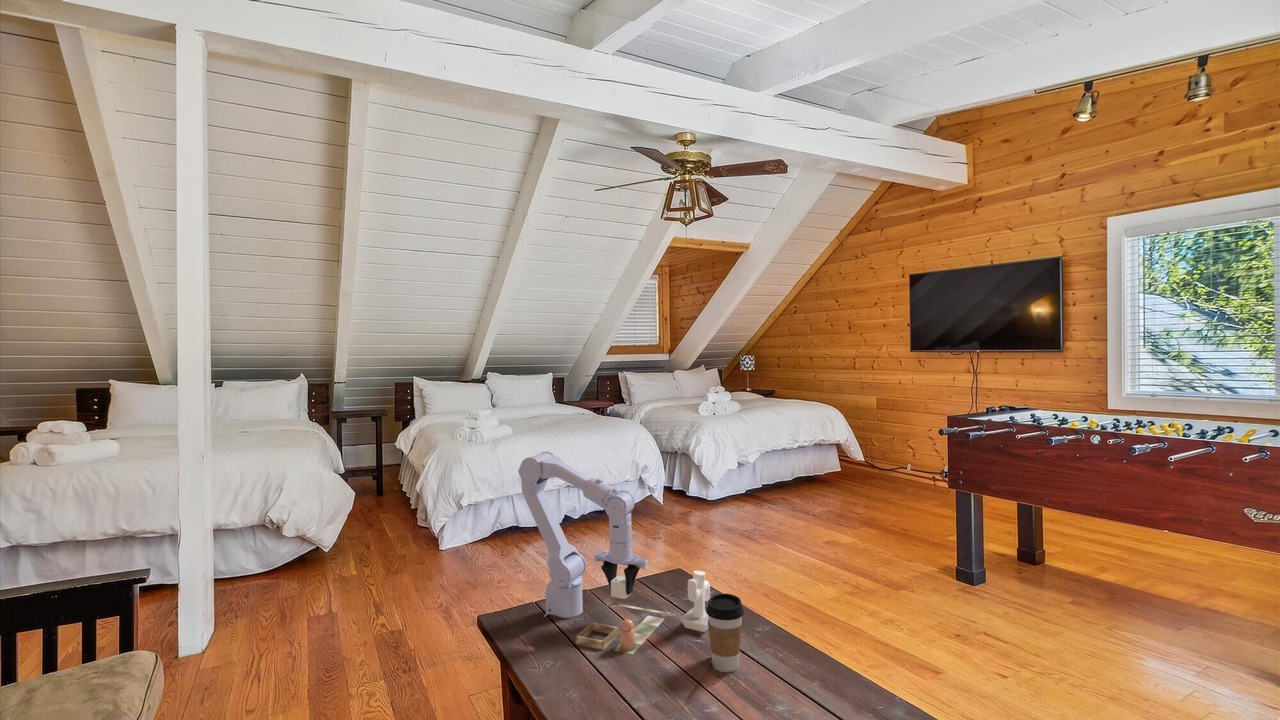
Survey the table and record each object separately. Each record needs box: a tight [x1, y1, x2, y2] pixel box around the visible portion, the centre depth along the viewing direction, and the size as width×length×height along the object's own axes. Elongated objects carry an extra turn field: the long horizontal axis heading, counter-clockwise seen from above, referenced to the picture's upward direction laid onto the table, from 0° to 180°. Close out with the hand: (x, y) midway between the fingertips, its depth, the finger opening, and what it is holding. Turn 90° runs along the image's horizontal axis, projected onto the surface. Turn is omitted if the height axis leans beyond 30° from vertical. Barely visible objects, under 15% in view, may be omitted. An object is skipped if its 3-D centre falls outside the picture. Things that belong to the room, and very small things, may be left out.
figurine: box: [680, 570, 711, 633], centre depth 165 cm, size 7×9×15 cm
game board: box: [575, 603, 672, 655], centre depth 164 cm, size 15×26×3 cm, turn 156°
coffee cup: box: [705, 593, 745, 673], centre depth 148 cm, size 8×8×15 cm
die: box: [610, 575, 630, 600], centre depth 169 cm, size 4×4×4 cm
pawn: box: [619, 618, 636, 651], centre depth 154 cm, size 4×4×7 cm
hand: (621, 591), depth 169 cm, fingers closed on die, 4 cm apart
